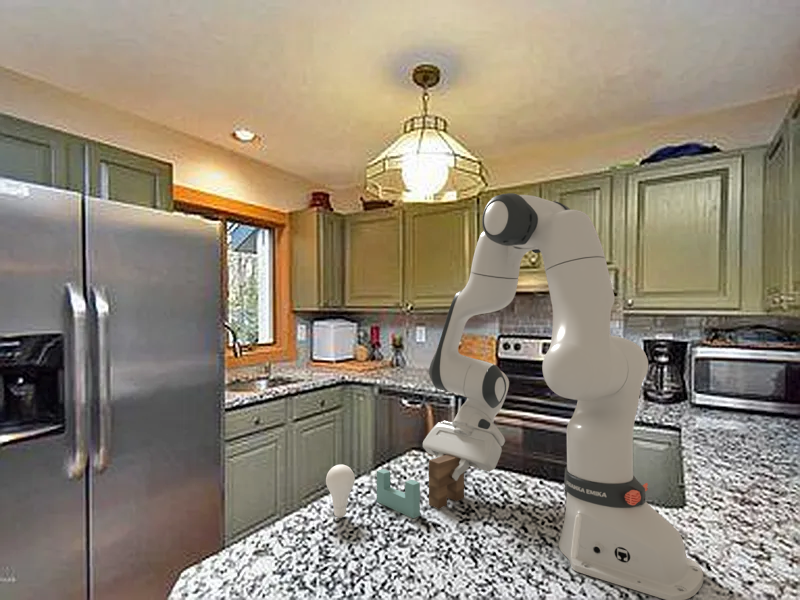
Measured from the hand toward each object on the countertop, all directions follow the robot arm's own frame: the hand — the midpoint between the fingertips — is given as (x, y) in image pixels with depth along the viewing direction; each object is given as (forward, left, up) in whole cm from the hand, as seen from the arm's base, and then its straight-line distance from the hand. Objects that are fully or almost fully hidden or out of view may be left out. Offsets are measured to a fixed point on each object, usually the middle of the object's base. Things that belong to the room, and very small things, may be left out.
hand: (445, 476), depth 104 cm
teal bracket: (+5, +10, -6) cm, 13 cm away
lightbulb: (+10, +22, -6) cm, 25 cm away
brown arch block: (0, -1, -6) cm, 6 cm away
